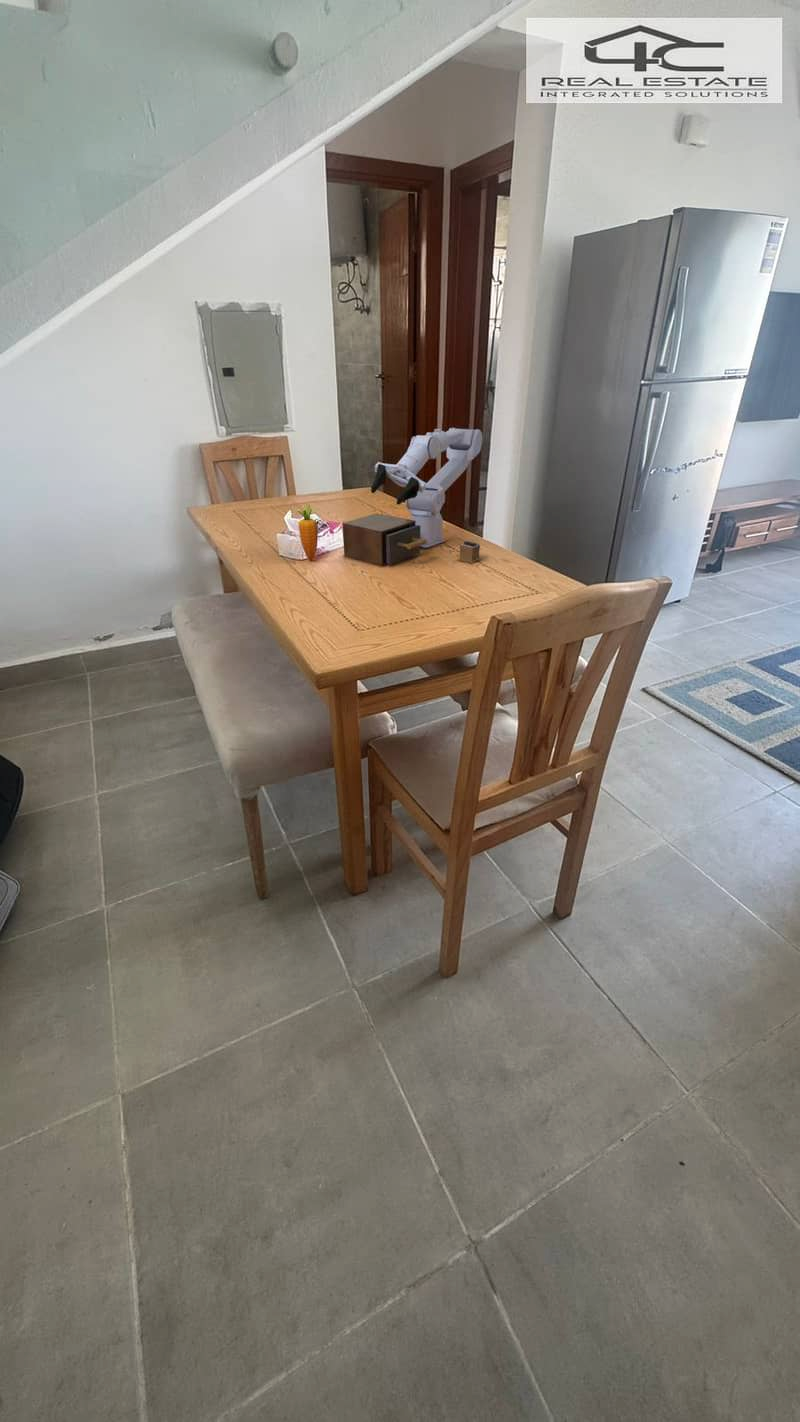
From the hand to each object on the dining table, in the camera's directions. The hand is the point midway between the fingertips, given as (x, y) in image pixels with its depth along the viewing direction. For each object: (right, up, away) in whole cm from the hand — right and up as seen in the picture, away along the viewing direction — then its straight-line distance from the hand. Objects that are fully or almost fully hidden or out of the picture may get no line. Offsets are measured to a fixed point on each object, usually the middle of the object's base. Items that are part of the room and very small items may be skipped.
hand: (385, 495), depth 158 cm
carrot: (-21, -15, +10) cm, 28 cm away
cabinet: (-2, -12, +15) cm, 19 cm away
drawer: (+2, -13, +11) cm, 17 cm away
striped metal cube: (+23, -14, +10) cm, 29 cm away
